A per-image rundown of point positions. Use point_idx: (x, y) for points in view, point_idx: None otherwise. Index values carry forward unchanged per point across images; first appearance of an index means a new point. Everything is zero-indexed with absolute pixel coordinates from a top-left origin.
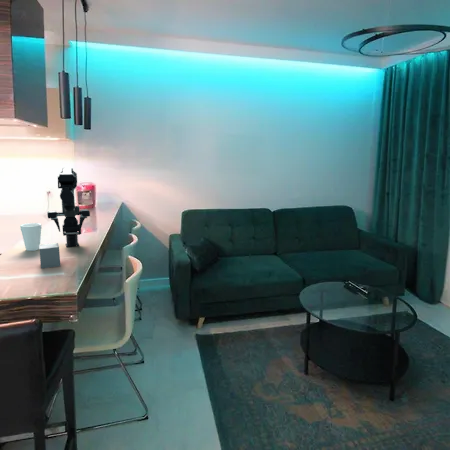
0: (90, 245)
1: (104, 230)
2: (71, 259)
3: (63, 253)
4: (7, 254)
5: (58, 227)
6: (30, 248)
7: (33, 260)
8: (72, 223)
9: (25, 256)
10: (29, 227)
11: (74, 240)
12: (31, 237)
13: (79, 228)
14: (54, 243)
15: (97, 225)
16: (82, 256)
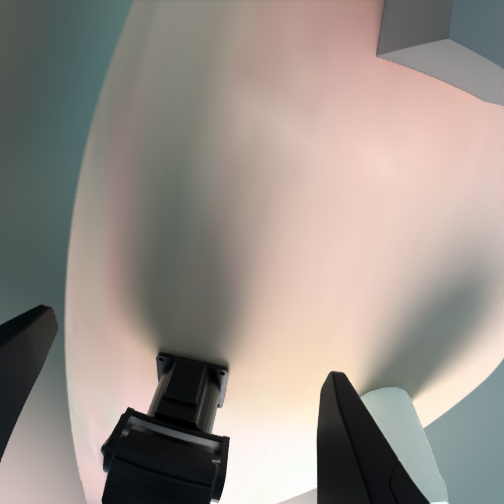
0: (102, 331)
1: (77, 443)
2: (276, 52)
3: (283, 258)
4: (488, 369)
5: (367, 430)
6: (404, 397)
7: (489, 204)
8: (144, 488)
9: (473, 309)
10: (431, 497)
11: (172, 384)
12: (412, 445)
13: (45, 338)
14: (485, 55)
15: (105, 476)
16: (176, 95)
